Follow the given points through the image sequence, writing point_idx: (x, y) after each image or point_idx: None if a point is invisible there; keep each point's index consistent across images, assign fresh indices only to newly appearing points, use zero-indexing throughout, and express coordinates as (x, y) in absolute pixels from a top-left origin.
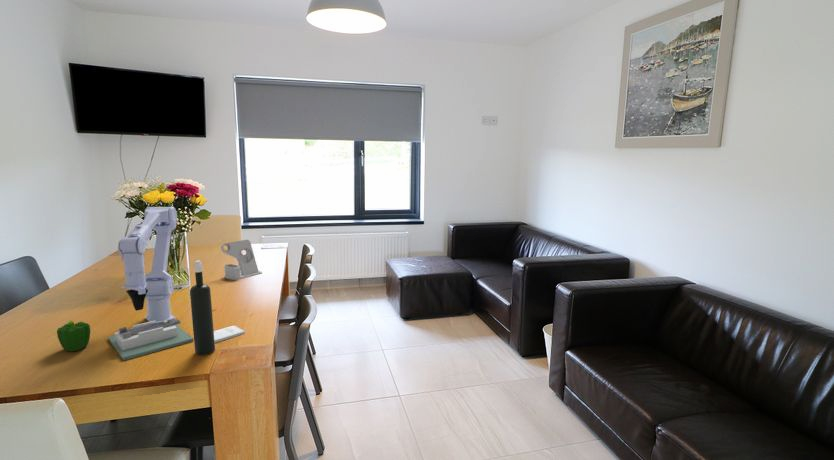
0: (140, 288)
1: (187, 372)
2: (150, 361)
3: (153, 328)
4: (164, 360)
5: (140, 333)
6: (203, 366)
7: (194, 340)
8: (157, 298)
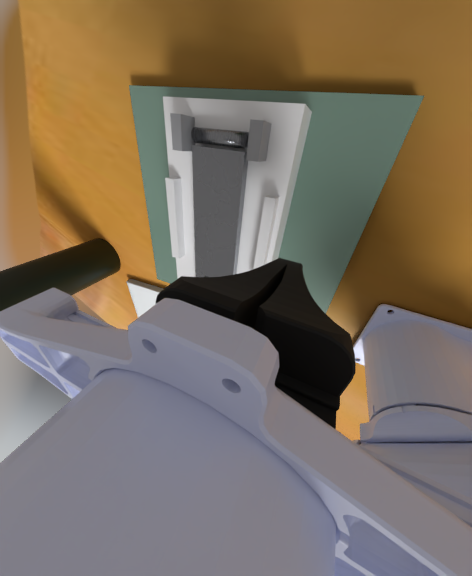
0: (29, 347)
1: (41, 186)
2: (104, 153)
3: (196, 240)
4: (98, 181)
5: (166, 183)
6: (55, 217)
7: (71, 249)
8: (386, 416)
